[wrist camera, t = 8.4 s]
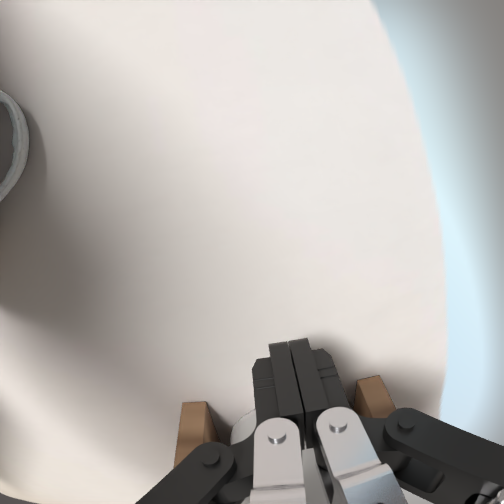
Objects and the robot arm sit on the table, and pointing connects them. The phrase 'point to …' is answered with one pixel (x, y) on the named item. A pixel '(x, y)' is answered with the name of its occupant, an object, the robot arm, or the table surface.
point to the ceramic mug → (15, 144)
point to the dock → (202, 430)
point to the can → (312, 483)
